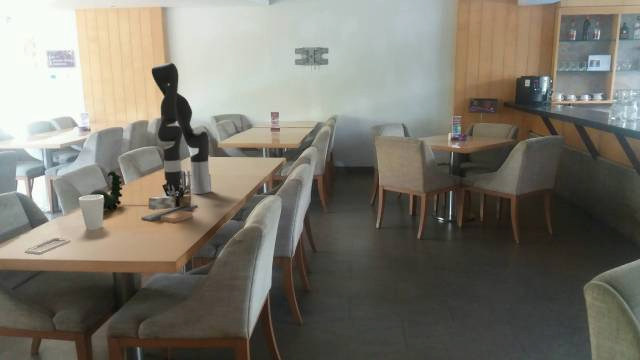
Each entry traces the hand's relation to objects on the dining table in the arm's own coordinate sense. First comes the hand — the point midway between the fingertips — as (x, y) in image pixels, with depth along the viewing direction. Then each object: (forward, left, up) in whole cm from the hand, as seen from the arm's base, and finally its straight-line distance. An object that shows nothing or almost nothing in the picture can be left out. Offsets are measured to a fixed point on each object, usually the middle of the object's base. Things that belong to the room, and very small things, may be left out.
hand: (175, 206), depth 238 cm
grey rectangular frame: (+59, -3, -3) cm, 59 cm away
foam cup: (+35, -10, -3) cm, 37 cm away
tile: (+3, +10, -2) cm, 10 cm away
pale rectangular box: (+3, 0, 0) cm, 3 cm away
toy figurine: (+15, -30, -3) cm, 34 cm away
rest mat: (+3, 0, -3) cm, 4 cm away
